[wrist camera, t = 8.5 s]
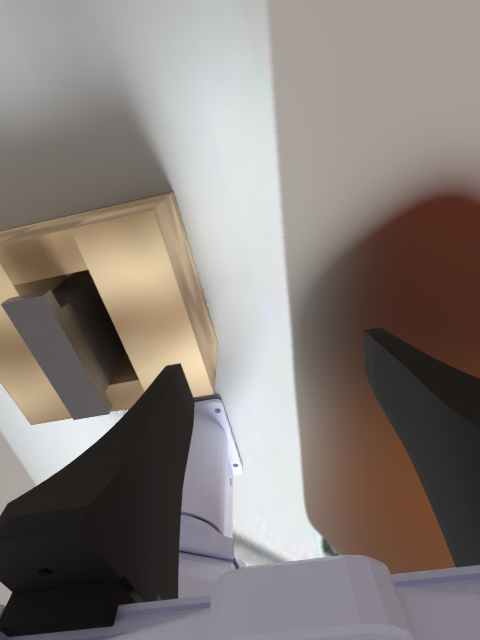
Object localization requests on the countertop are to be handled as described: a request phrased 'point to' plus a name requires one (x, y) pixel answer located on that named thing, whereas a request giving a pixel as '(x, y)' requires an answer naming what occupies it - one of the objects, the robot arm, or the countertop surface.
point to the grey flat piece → (71, 341)
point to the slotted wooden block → (112, 299)
